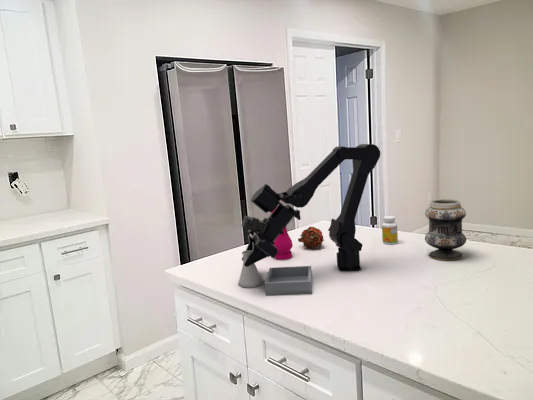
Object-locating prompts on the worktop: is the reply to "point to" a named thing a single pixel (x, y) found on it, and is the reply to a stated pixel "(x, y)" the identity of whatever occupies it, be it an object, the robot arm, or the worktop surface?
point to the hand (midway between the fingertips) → (244, 263)
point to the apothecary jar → (445, 228)
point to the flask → (249, 273)
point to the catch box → (289, 280)
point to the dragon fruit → (311, 237)
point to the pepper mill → (283, 245)
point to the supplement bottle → (389, 230)
